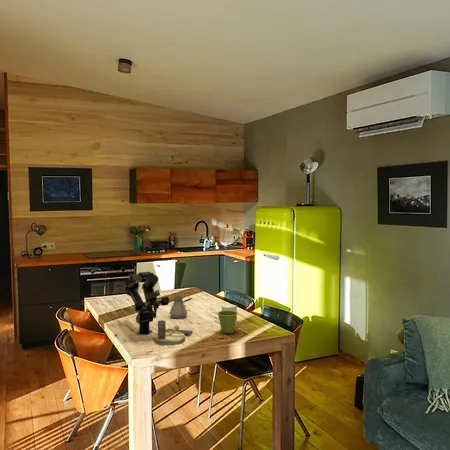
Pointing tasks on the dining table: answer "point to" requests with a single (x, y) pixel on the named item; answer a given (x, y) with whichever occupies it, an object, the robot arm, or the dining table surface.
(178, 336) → the disc
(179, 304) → the coffee pot
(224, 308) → the small box
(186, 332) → the base
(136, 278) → the robot arm
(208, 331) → the dining table surface
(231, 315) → the plant pot
